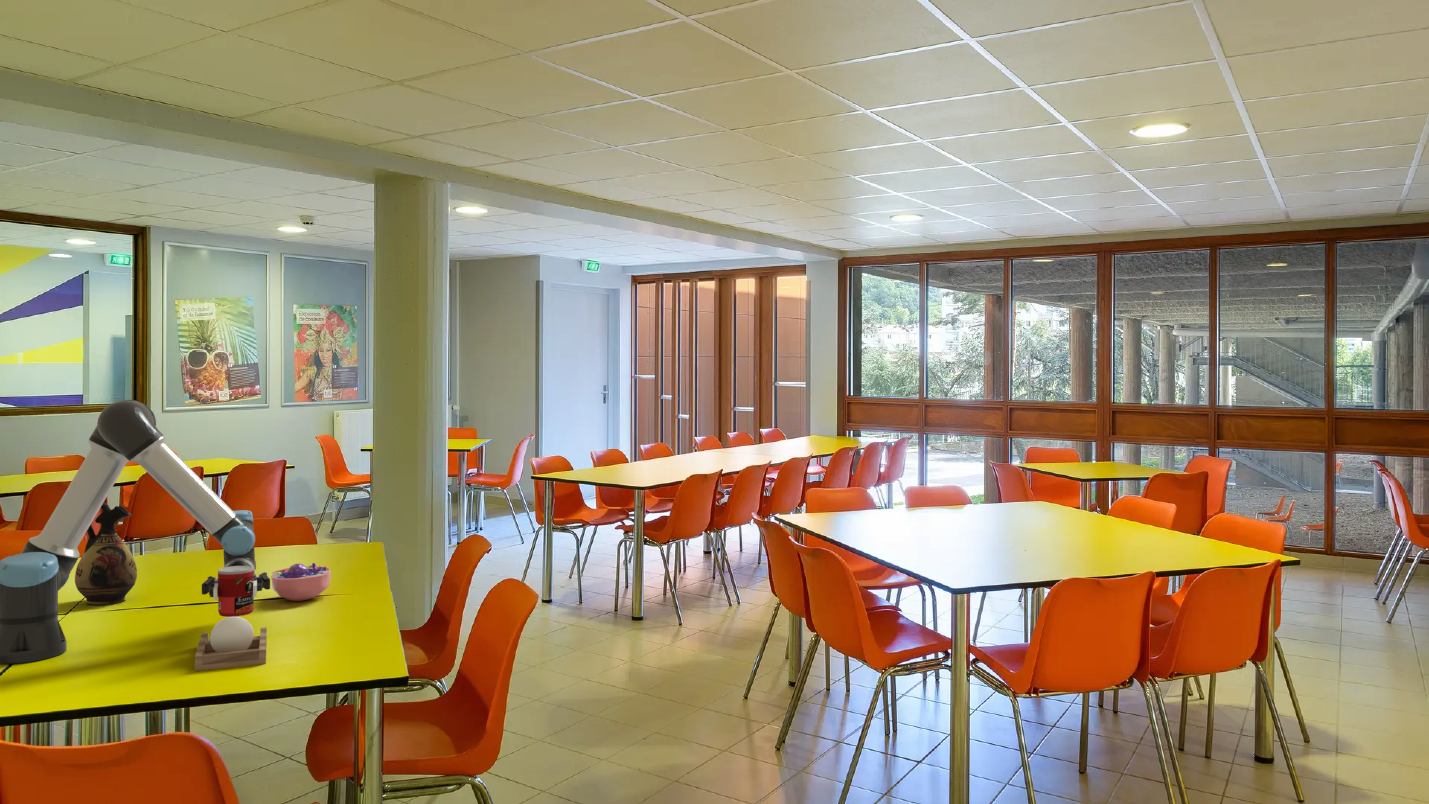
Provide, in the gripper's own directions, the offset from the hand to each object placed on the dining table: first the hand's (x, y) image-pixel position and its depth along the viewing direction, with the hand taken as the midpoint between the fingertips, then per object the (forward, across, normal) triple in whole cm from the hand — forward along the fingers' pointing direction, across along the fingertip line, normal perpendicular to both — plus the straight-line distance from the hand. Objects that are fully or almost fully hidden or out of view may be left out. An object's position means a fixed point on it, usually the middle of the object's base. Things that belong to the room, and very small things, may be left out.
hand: (235, 592), depth 221 cm
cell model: (-56, -16, -15) cm, 60 cm away
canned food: (-5, 0, -6) cm, 8 cm away
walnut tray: (+1, 0, -15) cm, 15 cm away
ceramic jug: (-74, +37, -15) cm, 84 cm away
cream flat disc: (+6, 0, -13) cm, 15 cm away
